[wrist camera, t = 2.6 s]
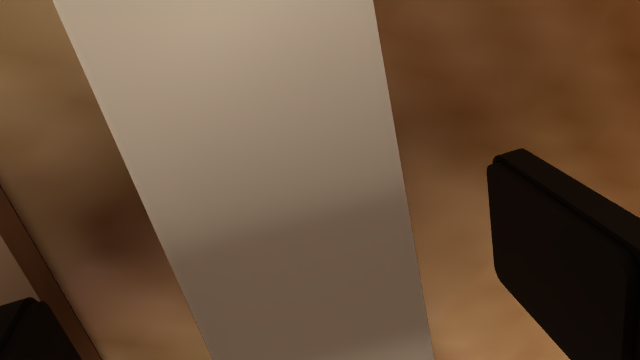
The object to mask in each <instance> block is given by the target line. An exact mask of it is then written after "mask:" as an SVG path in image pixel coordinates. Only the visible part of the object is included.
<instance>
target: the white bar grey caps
mask: <svg viewBox="0 0 640 360" xmlns="http://www.w3.org/2000/svg"><path fill="white" fill-rule="evenodd" d="M52 1H53V3H54V5H55V8H56V10H57V12H58V14H59V17H60V19H61V21H62V23H63V26H64V28H65V30H66V32H67V35H68V37H69V39H70V41H71V44H72V46H73V48H74V50H75V53H76V55H77V57H78V59H79V61H80V64H81V66H82V68H83V70H84V73H85V75H86V77H87V79H88V82H89V84H90V86H91V88H92V91H93V93H94V95H95V97H96V100H97V102H98V104H99V106H100V109H101V111H102V113H103V115H104V118H105V120H106V122H107V124H108V127H109V129H110V131H111V133H112V135H113V138H114V140H115V142H116V144H117V147H118V149H119V151H120V153H121V156H122V158H123V160H124V162H125V165H126V167H127V169H128V171H129V174H130V176H131V178H132V180H133V183H134V185H135V187H136V189H137V192H138V194H139V196H140V198H141V201H142V203H143V205H144V207H145V209H146V212H147V214H148V216H149V218H150V221H151V223H152V225H153V227H154V230H155V232H156V234H157V236H158V239H159V241H160V243H161V245H162V248H163V250H164V252H165V254H166V257H167V259H168V261H169V263H170V266H171V268H172V270H173V272H174V275H175V277H176V279H177V281H178V284H179V286H180V288H181V290H182V292H183V295H184V297H185V299H186V301H187V304H188V306H189V308H190V310H191V313H192V315H193V317H194V319H195V322H196V324H197V326H198V328H199V331H200V333H201V335H202V337H203V340H204V342H205V344H206V346H207V349H208V351H209V353H210V355H211V358H212V360H434V355H433V349H432V343H431V337H430V332H429V326H428V320H427V314H426V308H425V302H424V296H423V291H422V285H421V279H420V273H419V267H418V261H417V255H416V250H415V244H414V238H413V232H412V226H411V220H410V214H409V209H408V203H407V197H406V191H405V185H404V179H403V173H402V168H401V162H400V156H399V150H398V144H397V138H396V132H395V127H394V121H393V115H392V109H391V103H390V97H389V91H388V86H387V80H386V74H385V68H384V62H383V56H382V50H381V45H380V39H379V33H378V27H377V21H376V15H375V9H374V4H373V0H52Z"/></svg>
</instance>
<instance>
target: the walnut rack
mask: <svg viewBox="0 0 640 360" xmlns="http://www.w3.org/2000/svg"><path fill="white" fill-rule="evenodd" d="M28 297H32V298H34V299H36V300H37V301H38V302H39V301H44V302H46V303H47V304H48V305H49V307H50V308H51V310H52V311H53V313H54V315H55V316H56V318H57V320H58V321H59V323H60V324H61V326H62V328H63V329H64V331H65V333H66V334H67V336H68V337H69V339H70V341H71V342H72V344H73V346H74V347H75V349H76V351H77V352H78V354H79V355H80V357H81V359H82V360H101V358H100V357H99V355H98V353H97V352H96V350H95V348H94V346H93V345H92V343H91V341H90V340H89V338H88V336H87V334H86V333H85V331H84V329H83V328H82V326H81V324H80V322H79V321H78V319H77V317H76V316H75V314H74V312H73V310H72V309H71V307H70V305H69V304H68V302H67V300H66V298H65V297H64V295H63V293H62V292H61V290H60V288H59V286H58V285H57V283H56V281H55V280H54V278H53V276H52V274H51V273H50V271H49V269H48V268H47V266H46V264H45V262H44V261H43V259H42V257H41V256H40V254H39V252H38V251H37V249H36V247H35V245H34V244H33V242H32V240H31V239H30V237H29V235H28V233H27V232H26V230H25V228H24V227H23V225H22V223H21V221H20V220H19V218H18V216H17V215H16V213H15V211H14V209H13V208H12V206H11V204H10V203H9V201H8V199H7V197H6V196H5V194H4V192H3V191H2V189H1V187H0V306H1V305H4V304H8V303H11V302H14V301H18V300H21V299H24V298H28Z"/></svg>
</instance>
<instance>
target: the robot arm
mask: <svg viewBox="0 0 640 360" xmlns="http://www.w3.org/2000/svg"><path fill="white" fill-rule="evenodd" d="M487 183H488V195H489V207H490V219H491V231H492V244H493V256H494V266H495V271H496V274H497V276H498V278H499V280H500V281H501V283H502V284H503V285H504V286H505V287H506V288H507V289H508V291H509V292H510V293H511V294H512V295H513V296H514V297H515V298H516V299H517V301H518V302H519V303H520V304H521V305H522V306H523V307H524V308H525V309H526V311H527V312H528V313H529V314H530V315H531V316H532V317H533V318H534V320H535V321H536V322H537V323H538V324H539V325H540V326H541V327H542V328H543V330H544V331H545V332H546V333H547V334H548V335H549V336H550V337H551V338H552V340H553V341H554V342H555V343H556V344H557V345H558V346H559V347H560V349H561V350H562V351H563V352H564V353H565V354H566V355H567V356H568V357H569V359H570V360H640V218H638V217H637V216H635V215H633V214H632V213H630V212H628V211H627V210H625V209H623V208H622V207H620V206H618V205H617V204H615V203H613V202H612V201H610V200H608V199H607V198H605V197H603V196H602V195H600V194H598V193H597V192H595V191H593V190H592V189H590V188H588V187H587V186H585V185H583V184H582V183H580V182H578V181H577V180H575V179H573V178H572V177H570V176H568V175H567V174H565V173H563V172H562V171H560V170H558V169H557V168H555V167H553V166H552V165H550V164H548V163H547V162H545V161H543V160H542V159H540V158H539V157H537V156H535V155H534V154H532V153H530V152H529V151H527V150H525V149H522V148H521V149H517V150H514V151H511V152H507V153H504V154H501V155H497V156H495V157H494V159H493V164H491V165H489V166H488V167H487ZM0 360H82V359H81V357H80V355H79V354H78V352H77V351H76V349H75V347H74V346H73V344H72V342H71V341H70V339H69V337H68V336H67V334H66V333H65V331H64V329H63V328H62V326H61V324H60V323H59V321H58V320H57V318H56V316H55V315H54V313H53V311H52V310H51V308H50V307H49V305H48V304H47V303H46V302H44V301H39V302H38V301H37V300H36V299H34V298H32V297H28V298H24V299H21V300H18V301H14V302H11V303H8V304H4V305H1V306H0Z"/></svg>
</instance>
